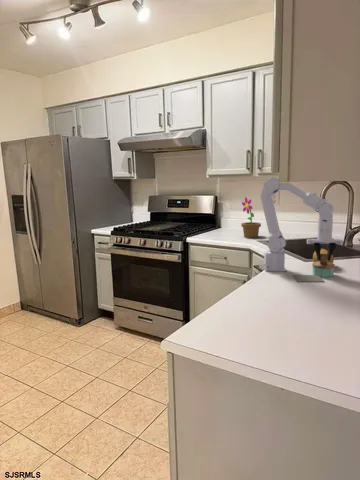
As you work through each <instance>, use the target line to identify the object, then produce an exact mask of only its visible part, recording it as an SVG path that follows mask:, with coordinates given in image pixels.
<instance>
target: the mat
mask: <svg viewBox="0 0 360 480" xmlns="http://www.w3.org/2000/svg"><path fill="white" fill-rule="evenodd" d="M292 277H293V278H294V279H295V281H296V282H297V283H325V280H324V279H323V277H320V276H319V275H314V274H292Z"/></svg>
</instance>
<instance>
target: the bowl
mask: <svg viewBox="0 0 360 480" xmlns="http://www.w3.org/2000/svg"><path fill="white" fill-rule="evenodd" d="M334 268H335V267H334ZM334 268H331V269H322V268H316V267H314V266H313V265H312V275H319V276H320V277H321V278H331V277H333V276H334Z"/></svg>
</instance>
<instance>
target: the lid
mask: <svg viewBox="0 0 360 480" xmlns="http://www.w3.org/2000/svg"><path fill="white" fill-rule="evenodd" d="M327 259H328V254H325V253H321V254H320V261H318V262H314V261H313V262H312V267H313V266H314V267H316V268H322V269H331V268H335V265H336V264H335V263H334V262H333V263H330V262H327Z"/></svg>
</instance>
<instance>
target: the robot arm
mask: <svg viewBox="0 0 360 480" xmlns="http://www.w3.org/2000/svg"><path fill="white" fill-rule="evenodd" d="M279 191H288V192H290V193H292V194H293V195H294V196H296V197H299V198H300V199H302V202H303V203H302V204H304V205H306V206H308V207H309V208H311V209H312V210H314V211H317V212H318V214H319V215H318V226H317V238H307V239H306V244H307V245H312V247H313V249H314V252H315V251H316V255H317V260H320V251H321V249H322V246H321V245H326V248H327V249H326V250H327V254H328V259H327V260H330V258H331V255H333V253H334V251H335V249H336V248H337V245H343V241H344V240H343V239H342V238H333V225H334V224H333V222H334V219H333V217H334V216H333V214H334V210H335V207H334V204H333V203H332V202H331V201H327V199H326V198H322V197H320V196H319V195H318V193H317V192H312V191H311V192H306V191H305V190H304V189H302V188H300V186H297V185H295V184H294V183H293V182H291V183H279V179H278V176H277V175H275V176H269V177H268V178H267V179H266V180H265V181H264V183H263V187H262V190H261V194H260V200H261V205H262V209H263V213H264V218H265V222H266V225H267V230H268V237H267V238H268V243H267V244H268V245H267V246H268V251H267V250H266V251H264V253H263V254H264V256H263V258H264V259H263V267H264V270H265V271H266V272H287V269H286V268H285V267H286V266H285V259H286V257H285V255H286V249H285V246H286V245H287V240H286V239H285V237H284V235H283V233H282V231H281V229H280V225H279V222H278V216H277V213H276V208H275V204H274V201H273V198H274V197H275V195H276V193H277V192H279Z"/></svg>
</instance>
